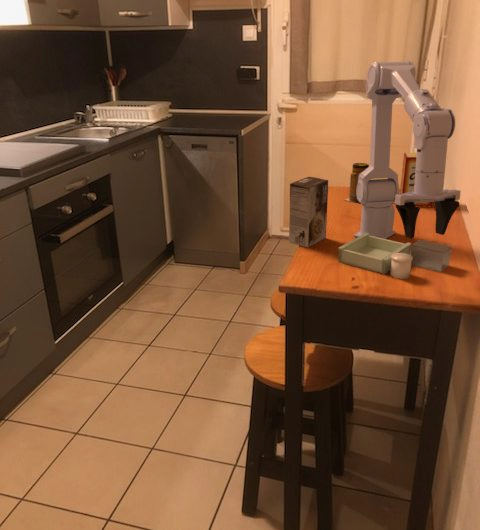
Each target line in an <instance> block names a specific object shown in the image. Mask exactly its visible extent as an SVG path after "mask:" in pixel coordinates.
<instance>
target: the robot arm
mask: <svg viewBox="0 0 480 530" xmlns="http://www.w3.org/2000/svg"><path fill="white" fill-rule="evenodd" d="M416 72H417V71H416V66H415V64H414V62H413V61H411V60H407V61H382V62H381V61H380V62H378V61H373V62H372V63H371V64H370V65H369V67H368V71H367V73H366V86H365V87H366V88H365V89H366V91H365V92H366V98H368V99H369V100H370V101H371V123H370V124H371V126H370V150H369V153H370V155H369V167H368V168H367V169H366V170H364V171H363V172H362V173H360V174H359V177H358V184H357V188H356V195H357V199H358V201H359V202H360V203H359V204H360V205H361V204H362V206H361V218H360V229H359V231H357V232H356V233H354V234H353V236H354V237H356V238H357V237H359V236H361V235H363V234H365V233H369V235H370V236H374V237H378V238H383V239H387V240H388V238H390V237H392V236H394V235H395V234H396V233H397V231H395V230H394V223H395V212H396V211H395V209H396V210H397V212H398V215H399V216H400V218H401V219H400V220H401V221H402V226H403V230H404V236H405V237H406V238H408V239H410V240H411V239H412V240H413V239H414V237H415V235H416V234H415V233H416V224H417V219H418V216H419V213H420V210H421V208H420V207H415V205H414V203H422V202H433V203H434V204H433V205H434V208H435V234H438V235H440V236H441V235H443V236H444V235H445V234H446V231H447V228H448V226H449V224H450V221H451V219H452V217H453V215H454V213H455V212H456V211H457V209H458V208H459V207H460V202H459V200H461V192H462V191H461V190H458V189H455V188H454V189H453V188H452V189H444V186H445V177H446V176H445V174H446V163H447V151H448V141H449V139H451V137H453V135H454V132H455V130H456V116H455V114H454V112H453V110H452V109H449V108H446V109H445V108H444V107H443V108H442V107H441V106H440V105H439V103H437V101H436V100H435V98H434V97H433V96H432V94H431V93H430V90H429V89H426V88H425V89H424V88H420V85H419V84H418V82H417V80H416V75H417V73H416ZM400 97H402V98H403V99H404V104H403V105H404V106H403V107H404V110H405V112H406V113H407V114H408V116H409V118H410V119H411V121H412V123H413V124H412V133H413V137H414V148H415V149H416V153H417V156H416V170H415V184H414V192H409V193H404V194H400V185H399V174H398V173H397V172H396V171H394V169H392V168H391V167H390V162H391V161H390V160H391V159H390V157H391V140H392V139H391V138H392V123H393V122H392V121H393V118H392V117H393V104H394V102H395V101H396V99H399V98H400ZM394 204H395V206H394Z"/></svg>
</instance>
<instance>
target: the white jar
mask: <svg viewBox="0 0 480 530" xmlns="http://www.w3.org/2000/svg"><path fill="white" fill-rule="evenodd" d="M391 258H392V261H391V270H390V271H389V275H391V276H390V277H392V276H393V277H395V278H394V279H396V278H400V279H399V280H407V279H409V278H410V277H409V276H411V269H412V268H411V267H412V265H411V261H412V260H413V257H412V256H411V254H410V255H409V254H405V253H394V254H392V255H391ZM393 277H392V278H393ZM406 278H407V279H406Z"/></svg>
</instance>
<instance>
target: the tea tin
mask: <svg viewBox="0 0 480 530" xmlns="http://www.w3.org/2000/svg"><path fill="white" fill-rule="evenodd" d="M452 248H453V246H452V245H449V244H448V245H447V244H443V243H439V242H434V241H429V240H426V239H418V240H417V241H415V242H414V243H412V245H411V247H410V255H411V256H412V257H413V260H412V261H411V266H414V265H415V267H418V268H422V269H426V270H431V271H434V272H439V273H442V272H443V271H444V270H446V269H447V268H448V267H450V260H451V254H452Z"/></svg>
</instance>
